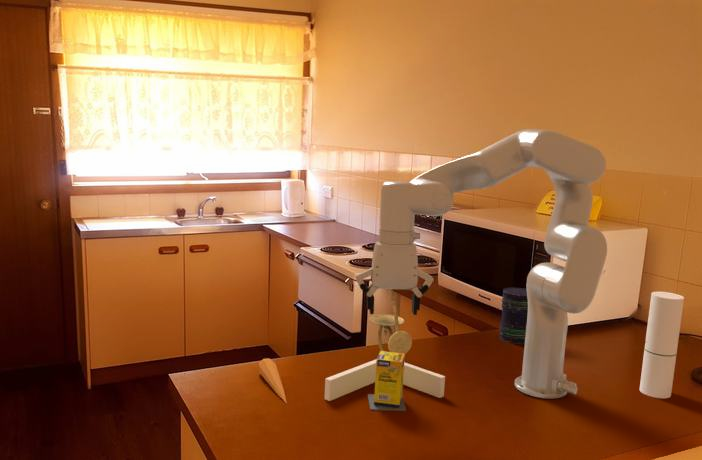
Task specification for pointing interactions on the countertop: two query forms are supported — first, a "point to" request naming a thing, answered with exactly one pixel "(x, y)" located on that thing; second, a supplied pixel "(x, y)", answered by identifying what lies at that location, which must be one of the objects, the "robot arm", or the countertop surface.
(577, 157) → the robot arm
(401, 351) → the wall sconce
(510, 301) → the storage jar
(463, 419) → the countertop surface
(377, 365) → the supplement box
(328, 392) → the white angled corner barrier
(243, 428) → the countertop surface
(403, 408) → the mat
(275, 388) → the carrot
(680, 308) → the cylindrical container
